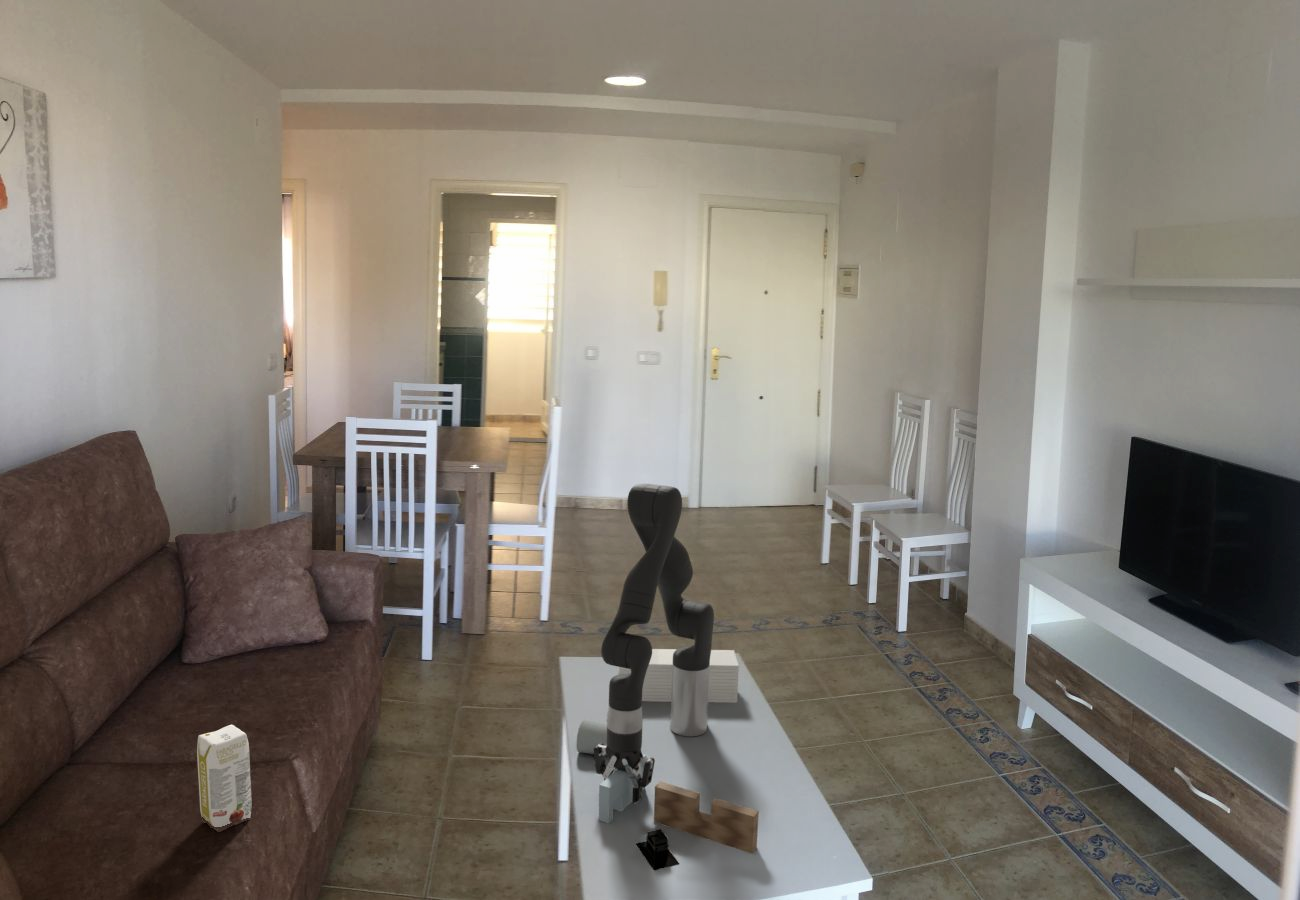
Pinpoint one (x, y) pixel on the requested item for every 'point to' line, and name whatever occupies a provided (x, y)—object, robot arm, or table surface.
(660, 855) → the black plastic bracket
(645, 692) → the stack of papers
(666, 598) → the robot arm
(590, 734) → the ceramic mug
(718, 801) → the brown wooden board
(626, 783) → the blue grey block
